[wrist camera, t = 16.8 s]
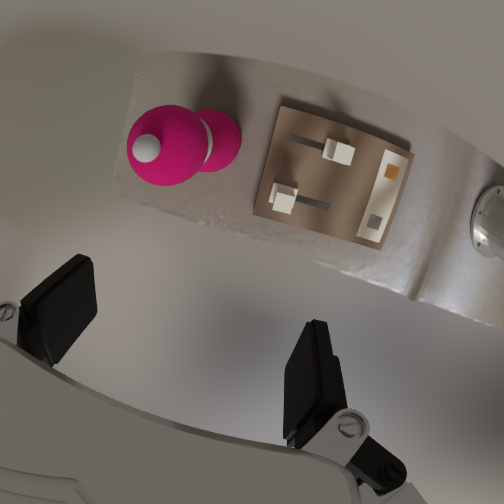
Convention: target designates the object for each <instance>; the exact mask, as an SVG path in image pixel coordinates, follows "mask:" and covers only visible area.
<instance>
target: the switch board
mask: <svg viewBox="0 0 504 504" xmlns="http://www.w3.org/2000/svg"><path fill="white" fill-rule="evenodd" d="M327 138H328V139H332V140H335V141H338V142H340V143H343V144H346V145H349V146H351V147H353V148H355V151H354V154H353V158H352V161H351V164H350V166H349V165H344V164H341V163H338V162H335V161H332V160H329V159H326V158H323V157H321V156H322V153H323V149H324V146H325V142H326V139H327ZM414 155H415V154H413V153H411V152H409V151H407V150H405V149H403V148H400V147H398V146H396V145H394V144H392V143H389V142H387V141H385V140H382V139H380V138H377V137H375V136H372V135H370V134H367V133H365V132H362V131H360V130H357V129H354V128H351V127H349V126H346V125H343V124H340V123H337V122H334V121H331V120H328V119H325V118H322V117H319V116H316V115H312V114H309V113H306V112H302V111H298V110H295V109H291V108H287V107H284V106H280V110H279V114H278V118H277V121H276V125H275V129H274V133H273V137H272V141H271V145H270V148H269V152H268V156H267V160H266V164H265V168H264V172H263V176H262V180H261V183H260V187H259V191H258V195H257V199H256V203H255V207H254V211H253V215H256V216H260V217H264V218H268V219H272V220H275V221H279V222H283V223H287V224H290V225H294V226H298V227H301V228H305V229H309V230H312V231H316V232H319V233H323V234H326V235H330V236H333V237H337V238H340V239H344V240H347V241H350V242H354V243H357V244H360V245H364V246H367V247H370V248H374V249H377V250H381V248H382V246H383V243H384V241H385V238H386V236H387V233H388V231H389V228H390V226H391V223H392V221H393V218H394V215H395V213H396V210H397V207H398V204H399V202H400V199H401V196H402V193H403V190H404V187H405V184H406V181H407V178H408V175H409V172H410V168H411V165H412V162H413V158H414ZM274 182H275V183H278V184H282V185H286V186H289V187H293V188H297V189H298V192H297V195H296V199H295V202H294V205H293V208H292V210H291V214H287V213H283V212H279V211H275V210H272V207H273V203H271V202H269V198H270V194H271V191H272V187H273V183H274Z"/></svg>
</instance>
